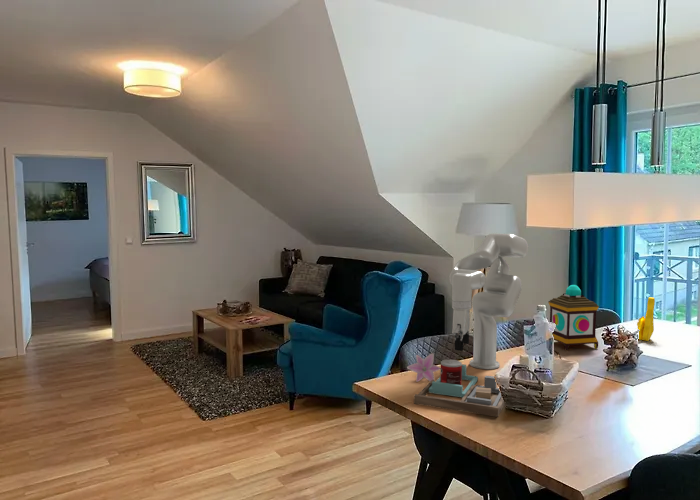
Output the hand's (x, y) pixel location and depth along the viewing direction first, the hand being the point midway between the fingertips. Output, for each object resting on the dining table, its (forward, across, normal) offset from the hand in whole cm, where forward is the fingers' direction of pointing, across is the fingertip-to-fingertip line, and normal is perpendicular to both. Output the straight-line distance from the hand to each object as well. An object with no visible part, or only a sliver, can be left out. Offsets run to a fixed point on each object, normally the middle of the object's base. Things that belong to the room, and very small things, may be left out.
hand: (462, 346), depth 223 cm
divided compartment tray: (+12, +24, +6) cm, 27 cm away
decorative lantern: (+16, -72, +37) cm, 82 cm away
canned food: (+12, +17, 0) cm, 21 cm away
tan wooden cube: (+12, +25, +13) cm, 31 cm away
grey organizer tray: (+12, +22, +13) cm, 28 cm away
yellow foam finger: (+18, -99, +70) cm, 122 cm away
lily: (+13, +8, -13) cm, 20 cm away
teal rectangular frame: (+12, +11, 0) cm, 17 cm away
